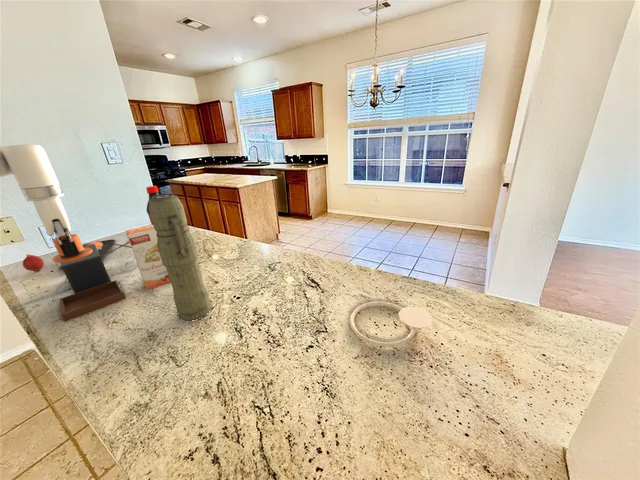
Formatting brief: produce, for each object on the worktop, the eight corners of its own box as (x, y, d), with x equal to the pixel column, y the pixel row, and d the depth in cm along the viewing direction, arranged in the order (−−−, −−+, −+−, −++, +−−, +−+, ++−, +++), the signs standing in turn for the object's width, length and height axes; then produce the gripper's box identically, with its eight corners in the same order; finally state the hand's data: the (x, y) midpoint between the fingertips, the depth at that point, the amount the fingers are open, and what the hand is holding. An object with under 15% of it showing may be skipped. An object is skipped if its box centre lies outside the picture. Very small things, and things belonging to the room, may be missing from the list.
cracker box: (147, 291, 90) (126, 234, 82) (144, 284, 94) (124, 229, 86) (190, 276, 98) (175, 223, 90) (185, 270, 102) (171, 219, 94)
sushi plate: (82, 248, 129) (79, 241, 128) (152, 235, 141) (150, 229, 139) (58, 274, 105) (53, 265, 104) (144, 256, 116) (141, 249, 115)
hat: (53, 265, 73) (44, 246, 71) (53, 256, 79) (44, 238, 77) (94, 254, 79) (86, 236, 77) (90, 246, 85) (83, 229, 83)
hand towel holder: (358, 287, 78) (433, 299, 71) (358, 300, 80) (431, 313, 72) (341, 324, 63) (433, 345, 56) (342, 339, 65) (431, 360, 58)
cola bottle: (185, 250, 121) (167, 184, 109) (167, 257, 114) (146, 189, 102) (174, 247, 125) (155, 183, 113) (156, 254, 118) (135, 187, 106)
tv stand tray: (64, 322, 77) (60, 315, 76) (62, 305, 85) (59, 298, 84) (125, 298, 86) (123, 292, 85) (118, 285, 95) (116, 279, 94)
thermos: (200, 297, 85) (170, 190, 71) (220, 311, 78) (191, 194, 64) (172, 312, 79) (134, 197, 65) (190, 328, 72) (152, 203, 58)
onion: (32, 270, 110) (22, 252, 107) (49, 266, 112) (41, 249, 109) (24, 276, 105) (14, 258, 102) (43, 272, 107) (34, 255, 104)
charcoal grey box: (76, 297, 88) (61, 266, 84) (73, 281, 99) (59, 252, 95) (112, 285, 95) (100, 255, 90) (105, 271, 106) (94, 243, 101)
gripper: (25, 191, 75) (54, 248, 82) (22, 200, 64) (55, 265, 71) (60, 186, 80) (85, 241, 87) (63, 193, 68) (91, 256, 75)
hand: (71, 251), depth 79 cm, fingers closed on hat, 5 cm apart
